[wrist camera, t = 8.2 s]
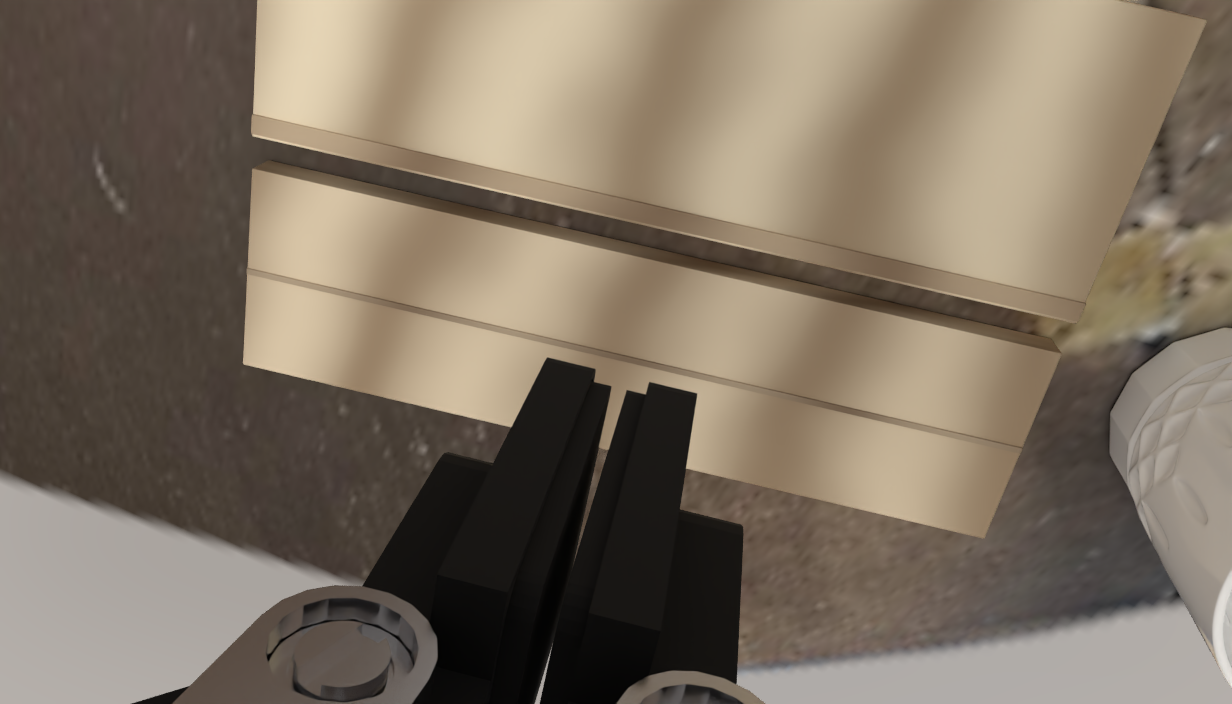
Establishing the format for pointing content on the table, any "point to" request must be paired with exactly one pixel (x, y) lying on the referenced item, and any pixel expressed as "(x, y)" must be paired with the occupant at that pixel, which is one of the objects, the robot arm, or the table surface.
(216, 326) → the table surface
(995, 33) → the plank
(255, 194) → the laid board
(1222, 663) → the white cup
